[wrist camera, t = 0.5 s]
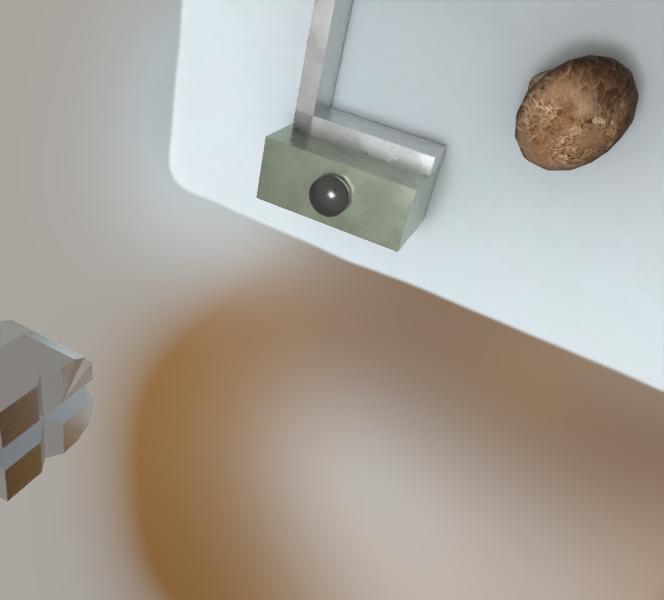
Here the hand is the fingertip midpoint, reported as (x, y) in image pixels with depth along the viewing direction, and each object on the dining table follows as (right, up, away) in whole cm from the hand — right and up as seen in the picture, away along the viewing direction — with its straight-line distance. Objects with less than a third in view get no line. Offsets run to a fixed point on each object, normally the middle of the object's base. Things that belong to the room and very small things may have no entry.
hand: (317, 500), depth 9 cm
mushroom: (+18, +17, +35) cm, 43 cm away
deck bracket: (+4, +20, +40) cm, 44 cm away
